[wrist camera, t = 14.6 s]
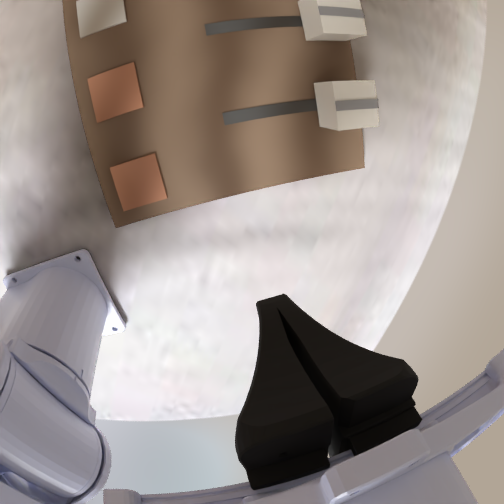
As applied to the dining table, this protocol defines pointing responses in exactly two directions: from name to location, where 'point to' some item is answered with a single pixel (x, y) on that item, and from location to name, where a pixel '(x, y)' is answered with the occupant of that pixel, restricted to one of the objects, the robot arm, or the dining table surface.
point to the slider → (347, 104)
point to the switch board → (202, 100)
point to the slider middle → (332, 19)
